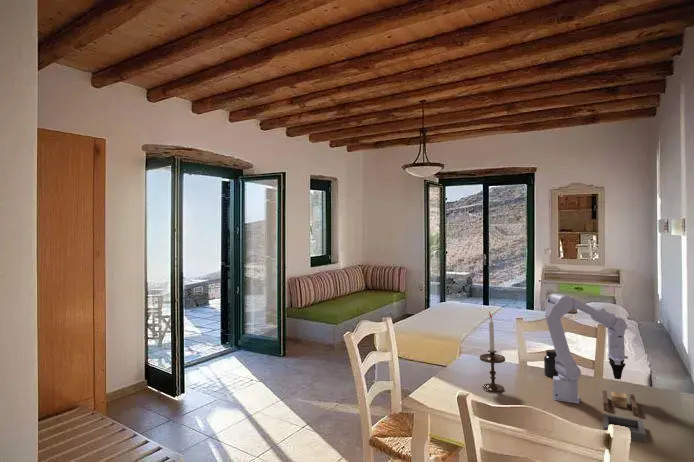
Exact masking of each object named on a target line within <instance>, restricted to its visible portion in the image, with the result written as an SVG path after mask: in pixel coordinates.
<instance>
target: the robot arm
mask: <svg viewBox="0 0 694 462" xmlns="http://www.w3.org/2000/svg"><path fill="white" fill-rule="evenodd" d="M545 302H546V309H545V317H544V318H545V320H546V324H547V328H548V332H549V333H550V334H549V335H550V337H551V341H552V345H553V347H554V350H555V351H556V355H557V356H556V357H555V369H556V371H557V372H558V376H553V377H552V399H553V400H554V401H559V402H567V403H571V404H580V396H579V385H578V384H579V383H578V382H579V378H581V375H582V370H581V368H580V367H579V366H578V365H577V362H576V360H575V359H574V357H573V356H572V354H571V351H570V348H569V343H568V341H567V338H566V334H565V331H564V327H563V324H562V321H561V320H562V318H563V317H564V316H565V315H566V314H568V313H569V312H570V311H572V310H579V311H581V312H583V313H585V314H588V315H589V316H590V317H591V320H593V321H594V322H597V323H598V324H601V325H602V326H604V327H606V328H607V343H608V344H607V346H608V347H607V348H608V354H607V356H608V364H609V365H610V367H611V369H612V374H613V377H614V379H615V380H621V379H622V376H623V370H624V368H625V367H626V363H624V362H625V359H629V355H625V354H626V353H625V335H626V334H625V332H626V330H627V329H628V324H627V323H626V321H625V319H623V318H621V317H619V316H616V314H615V313H612V312H611V313H610V312H609V311H607V310H606V308H604V307H595V308H594V307H592V306H590V305H588V304H587V303H586V302H583V301H581V300H580V299H578V298H575V297H571V296H569V295H563V294H560V293H558V292H553V293H551V294H549V296H548V297H547V299H546V300H545Z"/></svg>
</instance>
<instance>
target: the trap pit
mask: <svg viewBox="0 0 694 462" xmlns="http://www.w3.org/2000/svg"><path fill="white" fill-rule="evenodd" d="M602 423H603V431H604V430H607V429H608V425H609V424H614V425H620V426H625V427H628V428H630V431H631V438H632V439H631V440H633V439H634V441H638V440H640V441H639V442H644V441H646V442H645V443H647V440H648V439H647V433H646V428H645V424H644V421H643V420H642V419H638V418H632V417H627V416H619V415H614V414H609V413H608V414H607V413H602Z"/></svg>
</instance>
